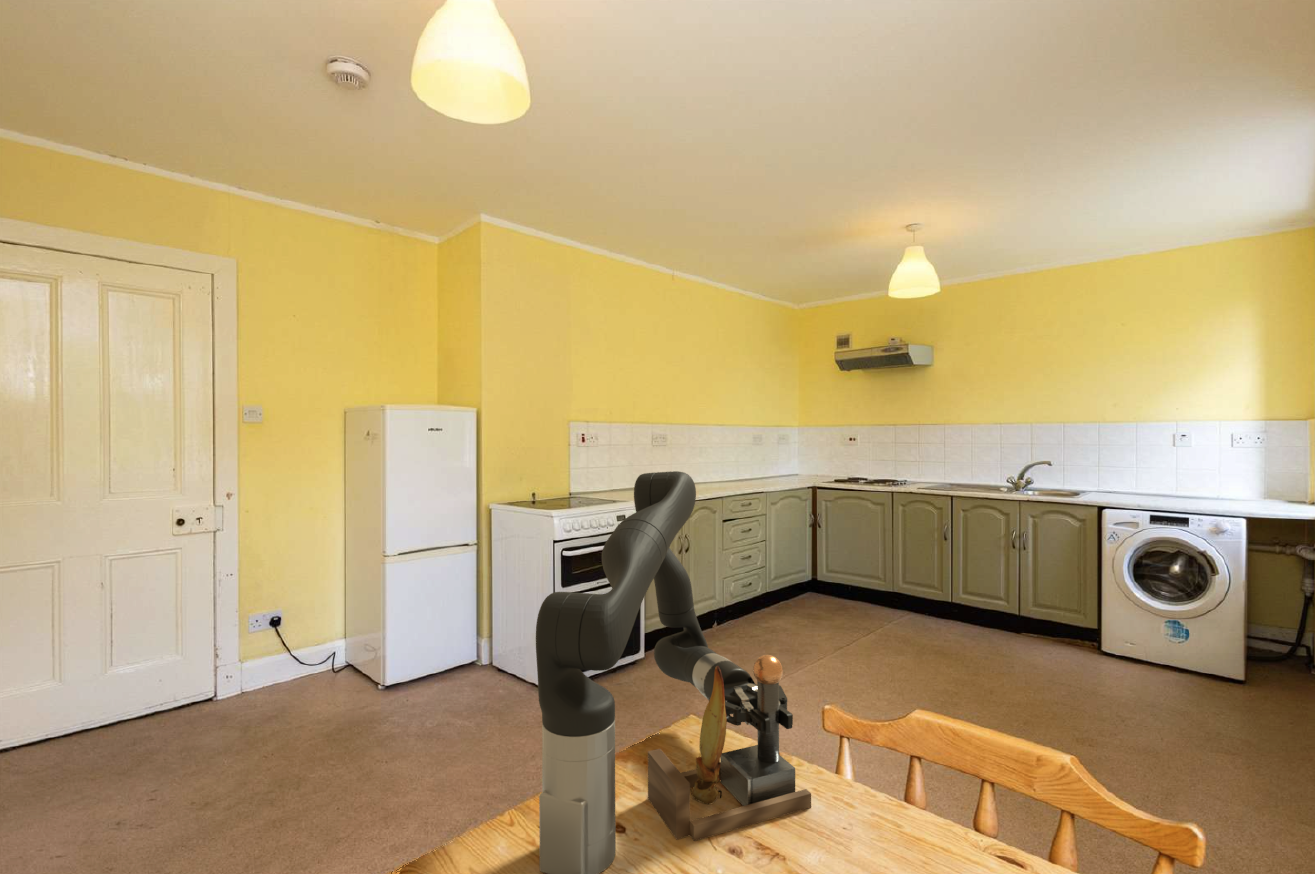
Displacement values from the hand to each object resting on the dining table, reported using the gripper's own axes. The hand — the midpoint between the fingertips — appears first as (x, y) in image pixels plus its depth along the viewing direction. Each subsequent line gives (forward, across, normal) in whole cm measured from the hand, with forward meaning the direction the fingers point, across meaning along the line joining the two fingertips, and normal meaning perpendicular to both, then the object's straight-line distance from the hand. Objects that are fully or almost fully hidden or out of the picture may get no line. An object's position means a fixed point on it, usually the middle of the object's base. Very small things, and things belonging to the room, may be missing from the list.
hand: (779, 724), depth 91 cm
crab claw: (-3, -10, +11) cm, 15 cm away
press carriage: (-3, -2, +11) cm, 11 cm away
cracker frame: (-3, -7, +11) cm, 13 cm away
